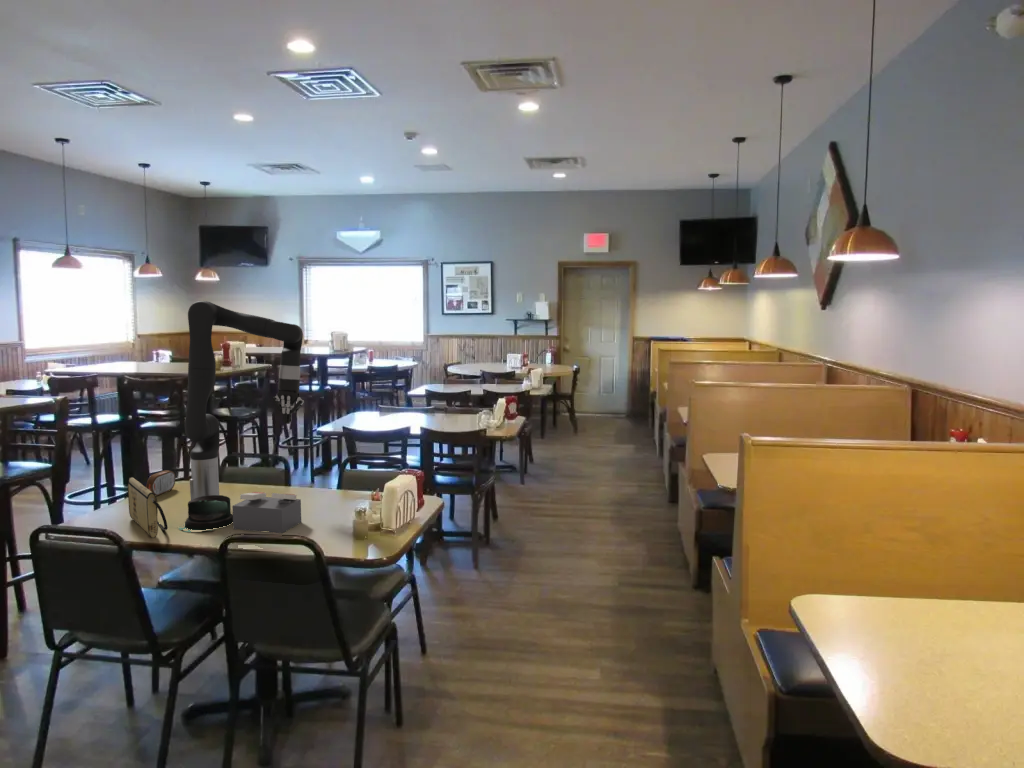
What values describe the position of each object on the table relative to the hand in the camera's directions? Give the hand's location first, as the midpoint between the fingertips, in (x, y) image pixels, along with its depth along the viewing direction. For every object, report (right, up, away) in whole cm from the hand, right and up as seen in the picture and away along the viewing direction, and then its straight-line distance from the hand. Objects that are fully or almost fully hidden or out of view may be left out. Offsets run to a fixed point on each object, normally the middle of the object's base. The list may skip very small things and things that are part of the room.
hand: (286, 423), depth 259 cm
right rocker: (+8, -23, -27) cm, 36 cm away
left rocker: (-3, -23, -27) cm, 35 cm away
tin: (-54, -29, +14) cm, 62 cm away
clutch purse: (-37, -33, -27) cm, 57 cm away
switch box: (+2, -33, -26) cm, 42 cm away
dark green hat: (-18, -33, -24) cm, 45 cm away
